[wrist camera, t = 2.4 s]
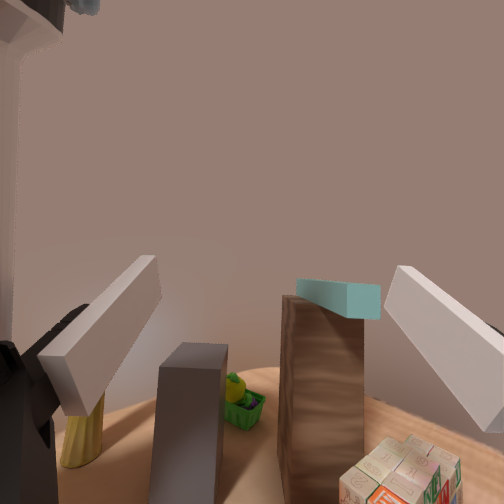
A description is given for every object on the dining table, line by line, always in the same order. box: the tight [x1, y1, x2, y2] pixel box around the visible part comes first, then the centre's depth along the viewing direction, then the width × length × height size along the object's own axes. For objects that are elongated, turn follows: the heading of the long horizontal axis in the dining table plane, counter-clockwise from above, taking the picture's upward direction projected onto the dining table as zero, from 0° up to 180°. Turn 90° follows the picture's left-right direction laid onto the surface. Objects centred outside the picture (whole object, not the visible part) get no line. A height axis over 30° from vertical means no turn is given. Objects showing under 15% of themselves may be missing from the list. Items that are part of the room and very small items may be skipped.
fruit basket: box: [224, 373, 266, 431], centre depth 55 cm, size 11×9×11 cm
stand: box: [277, 295, 364, 504], centre depth 40 cm, size 14×10×30 cm
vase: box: [60, 391, 105, 468], centre depth 43 cm, size 6×6×14 cm
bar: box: [296, 279, 380, 319], centre depth 37 cm, size 26×4×4 cm, turn 1°
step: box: [148, 342, 228, 504], centre depth 39 cm, size 12×9×20 cm
